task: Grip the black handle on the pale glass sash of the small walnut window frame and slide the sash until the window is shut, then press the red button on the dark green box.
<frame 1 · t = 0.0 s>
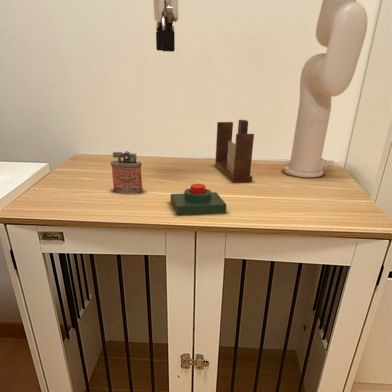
hand: (165, 50, 106), 31 cm above the cabinet, tool pointing down, fingers open, 9 cm apart
button: (198, 189, 100), point 4 cm above the cabinet, slide at 0.1 cm
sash: (241, 146, 122), point 9 cm above the cabinet, slide at 0.0 cm
alarm box: (197, 207, 102), on the cabinet
lighter: (128, 192, 112), on the cabinet
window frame: (234, 173, 131), on the cabinet
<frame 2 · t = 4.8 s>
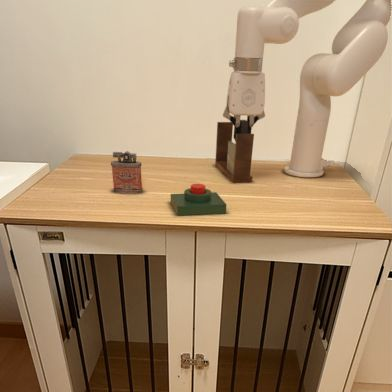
hand: (241, 141, 121), 10 cm above the cabinet, tool pointing down, fingers closed on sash, 2 cm apart
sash: (241, 146, 122), point 9 cm above the cabinet, slide at 0.0 cm, touching gripper
everything else where it was.
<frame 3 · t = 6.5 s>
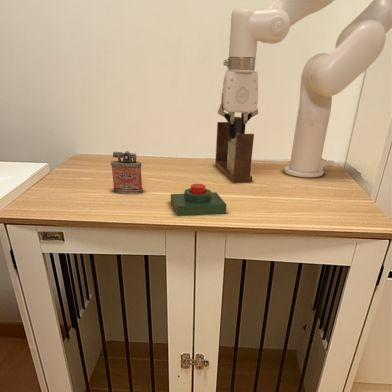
hand: (236, 137, 125), 10 cm above the cabinet, tool pointing down, fingers closed on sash, 2 cm apart
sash: (235, 142, 126), point 9 cm above the cabinet, slide at 5.8 cm, touching gripper
everything else where it was.
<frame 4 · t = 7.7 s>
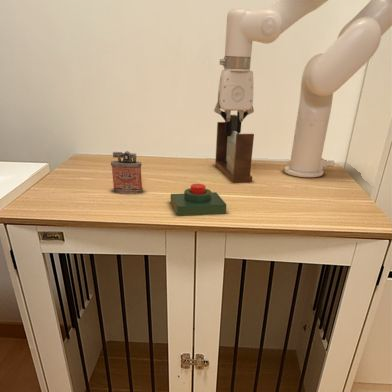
hand: (232, 135, 128), 10 cm above the cabinet, tool pointing down, fingers closed on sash, 2 cm apart
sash: (232, 140, 129), point 9 cm above the cabinet, slide at 10.0 cm, touching gripper
everything else where it was.
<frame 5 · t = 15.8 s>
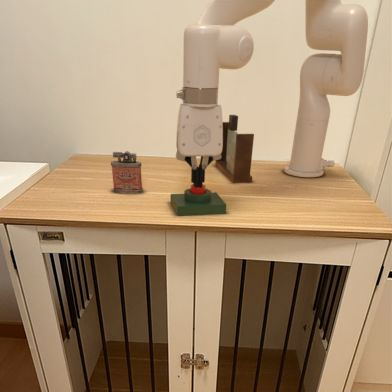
hand: (197, 185, 99), 5 cm above the cabinet, tool pointing down, fingers closed
button: (198, 189, 100), point 4 cm above the cabinet, slide at 0.1 cm, touching gripper
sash: (231, 140, 129), point 9 cm above the cabinet, slide at 10.0 cm
everything else where it was.
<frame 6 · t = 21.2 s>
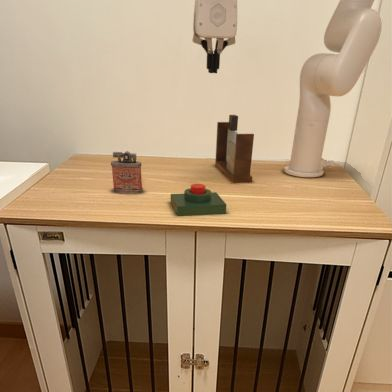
hand: (212, 72, 105), 27 cm above the cabinet, tool pointing down, fingers closed
button: (198, 189, 100), point 4 cm above the cabinet, slide at 0.1 cm
everything else where it was.
at the end: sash slide at 10.0 cm; button pushed in 1.1 cm at the most during the clip, back to where it started at the end; button slide at 0.1 cm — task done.
